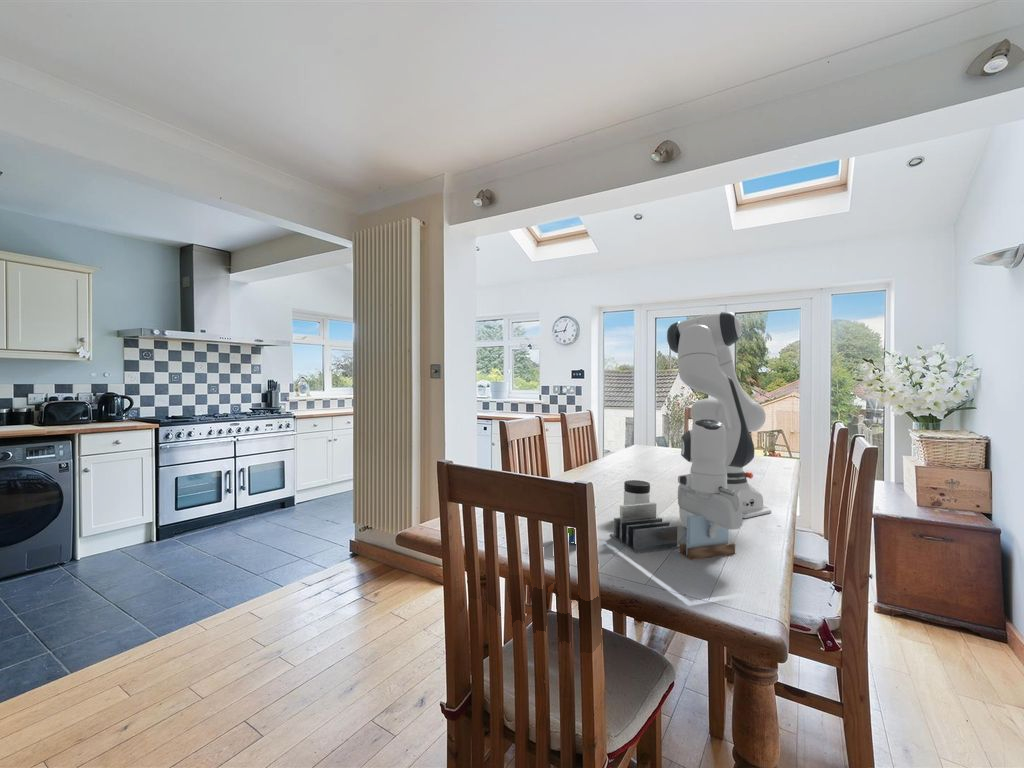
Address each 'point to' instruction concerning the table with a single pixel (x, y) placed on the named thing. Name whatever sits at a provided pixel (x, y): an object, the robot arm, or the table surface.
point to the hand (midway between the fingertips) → (707, 535)
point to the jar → (636, 492)
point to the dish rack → (644, 529)
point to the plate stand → (707, 551)
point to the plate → (703, 533)
